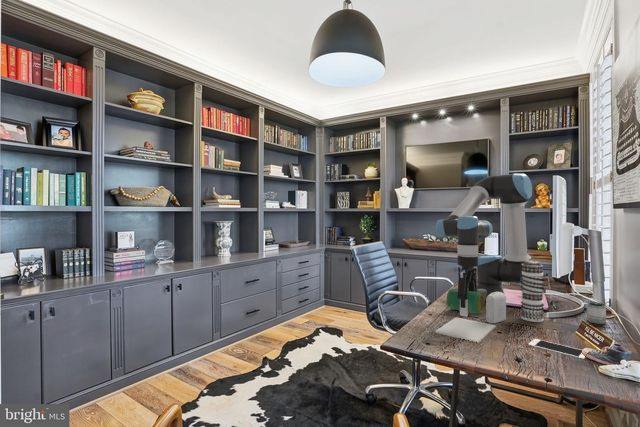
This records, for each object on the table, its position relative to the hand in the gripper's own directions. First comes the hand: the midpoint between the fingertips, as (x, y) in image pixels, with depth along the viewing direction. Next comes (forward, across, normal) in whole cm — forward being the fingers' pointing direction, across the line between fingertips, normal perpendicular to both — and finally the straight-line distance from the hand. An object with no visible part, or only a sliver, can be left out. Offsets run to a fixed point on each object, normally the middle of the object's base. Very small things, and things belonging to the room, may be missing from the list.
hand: (467, 313), depth 136 cm
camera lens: (+7, -46, +37) cm, 59 cm away
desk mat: (+7, -1, -1) cm, 7 cm away
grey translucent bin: (+7, -27, -9) cm, 30 cm away
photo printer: (+7, -20, +5) cm, 22 cm away
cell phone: (+8, -3, +29) cm, 30 cm away
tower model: (+7, -33, +16) cm, 37 cm away
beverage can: (-5, 0, -7) cm, 9 cm away
